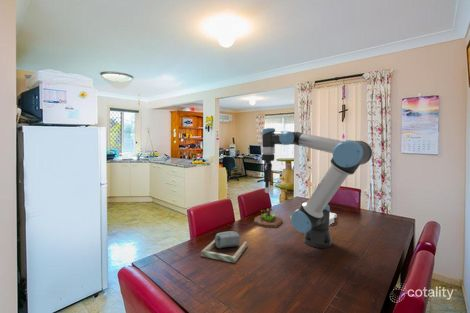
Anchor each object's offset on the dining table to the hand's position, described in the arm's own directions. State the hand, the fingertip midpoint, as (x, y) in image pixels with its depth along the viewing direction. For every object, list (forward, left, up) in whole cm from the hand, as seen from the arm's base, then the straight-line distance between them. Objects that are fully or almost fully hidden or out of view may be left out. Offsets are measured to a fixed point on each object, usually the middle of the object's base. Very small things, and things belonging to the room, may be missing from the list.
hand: (267, 192), depth 149 cm
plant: (+4, -22, -27) cm, 35 cm away
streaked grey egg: (+16, +24, -27) cm, 40 cm away
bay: (+15, +29, -26) cm, 42 cm away
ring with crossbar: (-26, -42, -27) cm, 56 cm away
